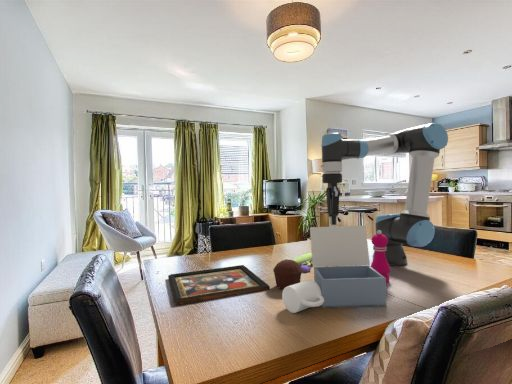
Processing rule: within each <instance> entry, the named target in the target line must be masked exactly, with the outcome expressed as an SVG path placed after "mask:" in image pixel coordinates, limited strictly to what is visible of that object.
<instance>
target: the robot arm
mask: <svg viewBox="0 0 512 384" xmlns="http://www.w3.org/2000/svg"><path fill="white" fill-rule="evenodd" d="M448 142H449V135H448V132H447V130H446V128H445V127H444V126H443V125H442V124H441V123H438V122H431V123H425V124H421V125H418V126H417V125H416V126H412V127H409V128H406V129H402V130H399V131H396V132H392V133H387V134H386V135H385V136H379V137H373V138H365V139H343V138H342V134H341V133H339V132H329V133H325V134H323V135H322V136H321V145H320V146H321V160H322V161H321V162H322V164H320V168H321V169H322V170H321V171H322V180H321V181H322V183H323V184H327V186H326V188H325V189H326V190H325V195H326V209H327V214H328V223H329V224H328V227H335V226H338V216H339V212H340V211H339V210H340V208H339V207H340V197H341V196H340V193H341V191H340V190H339V187H338V184H341V183H343V174H342V172H343V162H342V161H345V160H350V159H357V160H358V159H364V158H366V157H367V156H372V155H379V154H385V153H387V154H389V155H393V154H406V153H407V154H409V155H410V157H411V158H412V159H411V164H410V165H411V166H410V171H409V177H408V179H409V180H408V185H407V192H406V200H405V206H404V210H402V211H401V212H400V213H389V214H378V215H377V216H376V217H375V223H374V224H375V235H376V234H377V231H378V230H381V231H382V234H383V235H385V236H386V237H387V239H388V243H387V245H386V247H387V248H386V249H387V250H386V251H385V256H386V260H387V262H388V264H389V266H402V265H406V264H407V263H408V257H407V254H406V251H405V250H404V247H403V245H404V244H405V245H409V246H411V247H419V248H421V247H422V248H423V247H425V246H428V245H429V243H431V242H432V241H433V239H434V237H435V233H436V230H435V226H434V223H433V222H432V221H430V220H431V216H430V215H429V214H428V213H427V212H428V205H429V200H430V192H431V191H430V190H431V185H432V180H433V179H432V178H433V171H434V166H435V165H434V164H435V159H436V158H438V157H440V151H441V150H443V149H445V148H446V147H447V145H448ZM374 256H375V252H374V251H373V254H372V260H373V259H374Z"/></svg>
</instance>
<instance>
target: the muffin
mask: <svg viewBox="0 0 512 384" xmlns="http://www.w3.org/2000/svg"><path fill="white" fill-rule="evenodd" d="M301 266H302V265H301ZM301 266H300V265H299V264H298V263H297V262H295V261H294V260H293V259H287V260H286V259H283V260H281V261H279V262H278V263H276V265H275V266H274V268H273V271H272V272H273V274H274V279H275V284H276V288H277V289H279V290H281V291H283V290H284V288H285V287H287V286H290V285H294V284H297V283H300V282H301V279H302V278H301V277H302V273H303V269H302V267H301Z"/></svg>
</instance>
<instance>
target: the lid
mask: <svg viewBox="0 0 512 384" xmlns="http://www.w3.org/2000/svg"><path fill="white" fill-rule="evenodd" d="M366 229H367V228H366V225H343V226H342V225H341V226H338V225H337V226H335V227H329V226H310V227H309V233H310V234H309V235H310V236H309V237H310V247H311V253H312V259H311V262H312V263H311V265H312V267H313V268H314V267H333V266H367V265H369V266H371V263H370V255H369V245H368V238H367V237H368V235H367V230H366Z"/></svg>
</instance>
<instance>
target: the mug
mask: <svg viewBox="0 0 512 384" xmlns="http://www.w3.org/2000/svg"><path fill="white" fill-rule="evenodd" d="M281 299H282V301H283V304H284V307H285V308H286V310H287V311H289V313H291V314H296V313H298V312H301V311H304V310H307V309H308V308H309V309H310V308H316V307H320V306H321V307H322V304H323V303H324V298H323V297H322V293H321V289H320V287H319V286H318V284H317V283H316V282H315V281H314V279H307V280H303V281H300V283H297V284H294V285H290V286H287V287H285V288H284V290H282V295H281Z"/></svg>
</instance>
